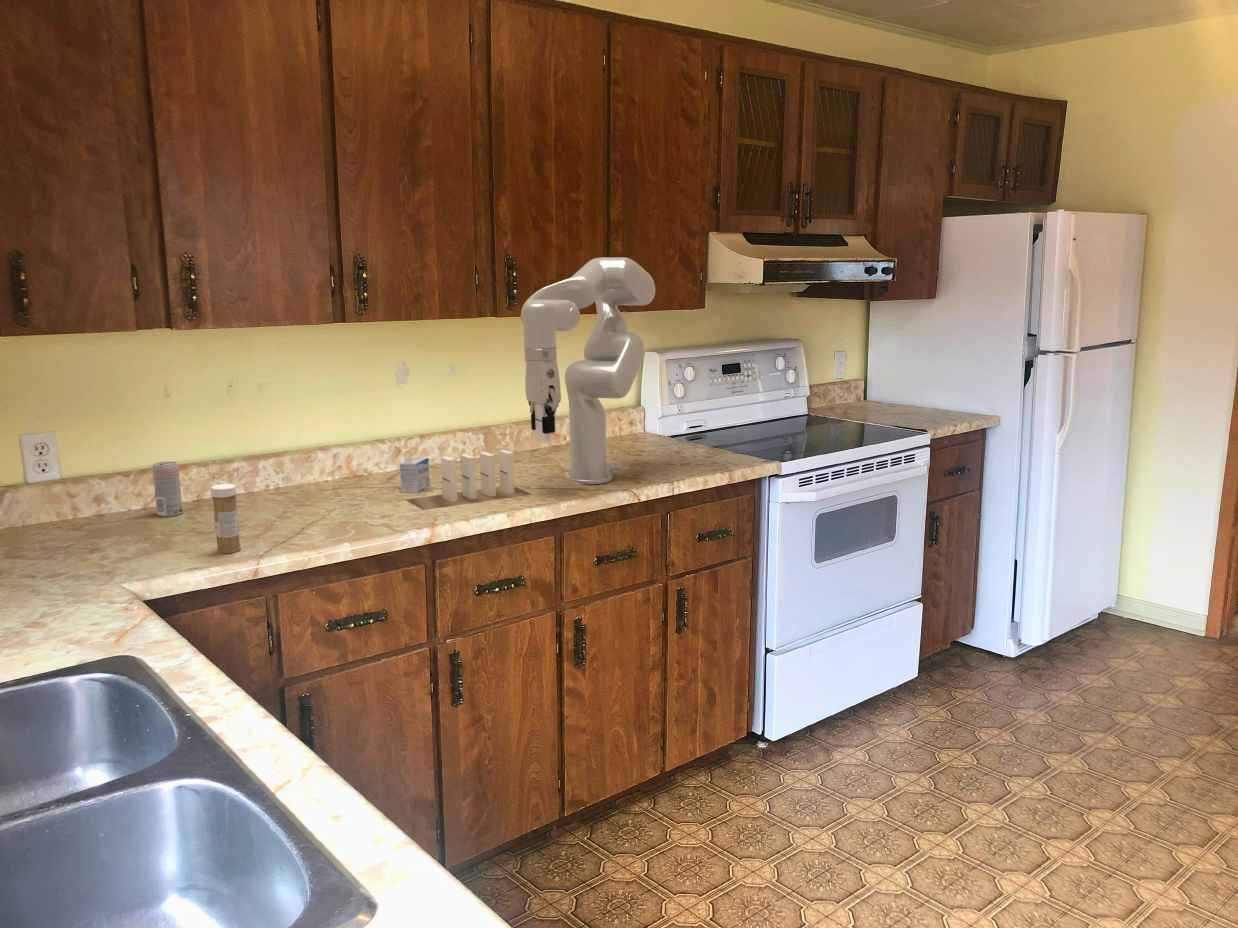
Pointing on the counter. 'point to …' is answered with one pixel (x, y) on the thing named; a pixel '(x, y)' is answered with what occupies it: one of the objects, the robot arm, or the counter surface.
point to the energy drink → (167, 489)
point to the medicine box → (415, 475)
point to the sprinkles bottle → (226, 518)
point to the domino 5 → (540, 424)
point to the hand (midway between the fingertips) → (543, 430)
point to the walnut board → (462, 499)
